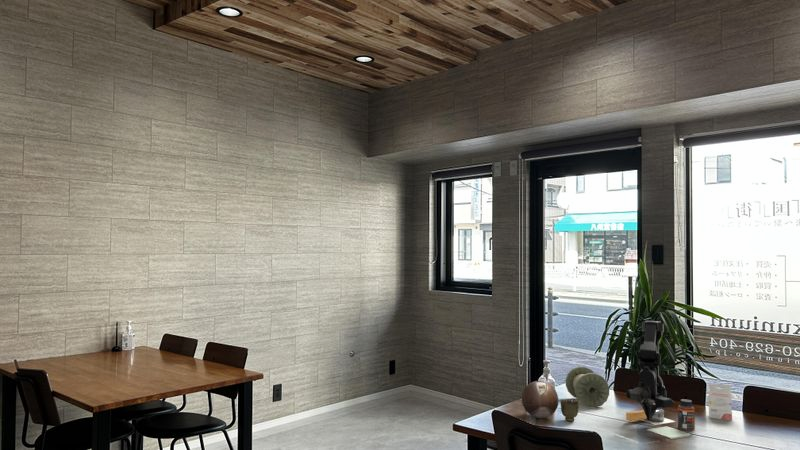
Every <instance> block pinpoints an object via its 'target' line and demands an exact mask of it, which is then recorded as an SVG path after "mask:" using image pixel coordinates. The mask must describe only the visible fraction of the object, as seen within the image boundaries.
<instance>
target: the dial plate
mask: <svg viewBox="0 0 800 450" xmlns="http://www.w3.org/2000/svg"><path fill="white" fill-rule="evenodd" d="M640 421H642V422H644V423H647V424H651V425H654V426H658V425H663V424H670V423H675V422H677V421H675V420H673V419H669V418H667V417H664V421H663V422H651V421H647V420H644V419H643V420H640Z"/></svg>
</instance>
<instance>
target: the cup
mask: <svg viewBox="0 0 800 450" xmlns="http://www.w3.org/2000/svg"><path fill="white" fill-rule="evenodd" d="M559 403H560V410H561V414H562V415H563V417H564V419H565V421H566V422H569V423H573V422H574V421H575V418H576V417H577V416H578V414H579V408H580V403H579V401H578V400H574V399H573V400H571V399H561V400H560V401H559Z"/></svg>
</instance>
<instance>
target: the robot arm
mask: <svg viewBox="0 0 800 450" xmlns="http://www.w3.org/2000/svg"><path fill="white" fill-rule="evenodd" d="M641 331H643V335H644V340H643V343H642V344H641V345H640V346H639V350H638V351H637V362H636V365H637V367H640V372H638V375H637V377H638V381H639V382H638V383H637V387H634V388H633V389H627V390H626V392H625V397H626V398H627V399H631V400H632V401H636V402H637V403H639V405H641V407H642V410H643V409H644V412H645V414H646V417H647V420H651V419H652V417H653V415H654V413H655V411H656V409H657V408H660V409H663V408H664V409H665V408H671V407H672V408H673V407H674V400H673V399H672V398H669V397H667V389H666V387H665V385H664V381H663V379H662V377H661V376H660V372H659V371H660V366H661V358H662V357H661V356H662V355H661V353H660V352H659V351H660V350H659V349H660V348H659V347H660V346H659V341H660V340H661V338H662V336H663V333H664V332H665V325H664V323H662V321H659V320H645V321H642V322H641ZM664 413H666V411H665V410H664Z"/></svg>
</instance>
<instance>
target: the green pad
mask: <svg viewBox="0 0 800 450" xmlns="http://www.w3.org/2000/svg"><path fill="white" fill-rule="evenodd" d="M646 430H647V431H648V432H652V433H655V434H658V435H661V436H664V437H666V438H667V439H668V440H676V439H681V438H686V437H687V436H688V437H692V433H688V432H686V431H684V430H683V431H682V430H681V429H680V430H679V429H677V428H673V427H671V426H666V425H665V426H661V427H654V428H648V429H646ZM688 437H687V438H688Z"/></svg>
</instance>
